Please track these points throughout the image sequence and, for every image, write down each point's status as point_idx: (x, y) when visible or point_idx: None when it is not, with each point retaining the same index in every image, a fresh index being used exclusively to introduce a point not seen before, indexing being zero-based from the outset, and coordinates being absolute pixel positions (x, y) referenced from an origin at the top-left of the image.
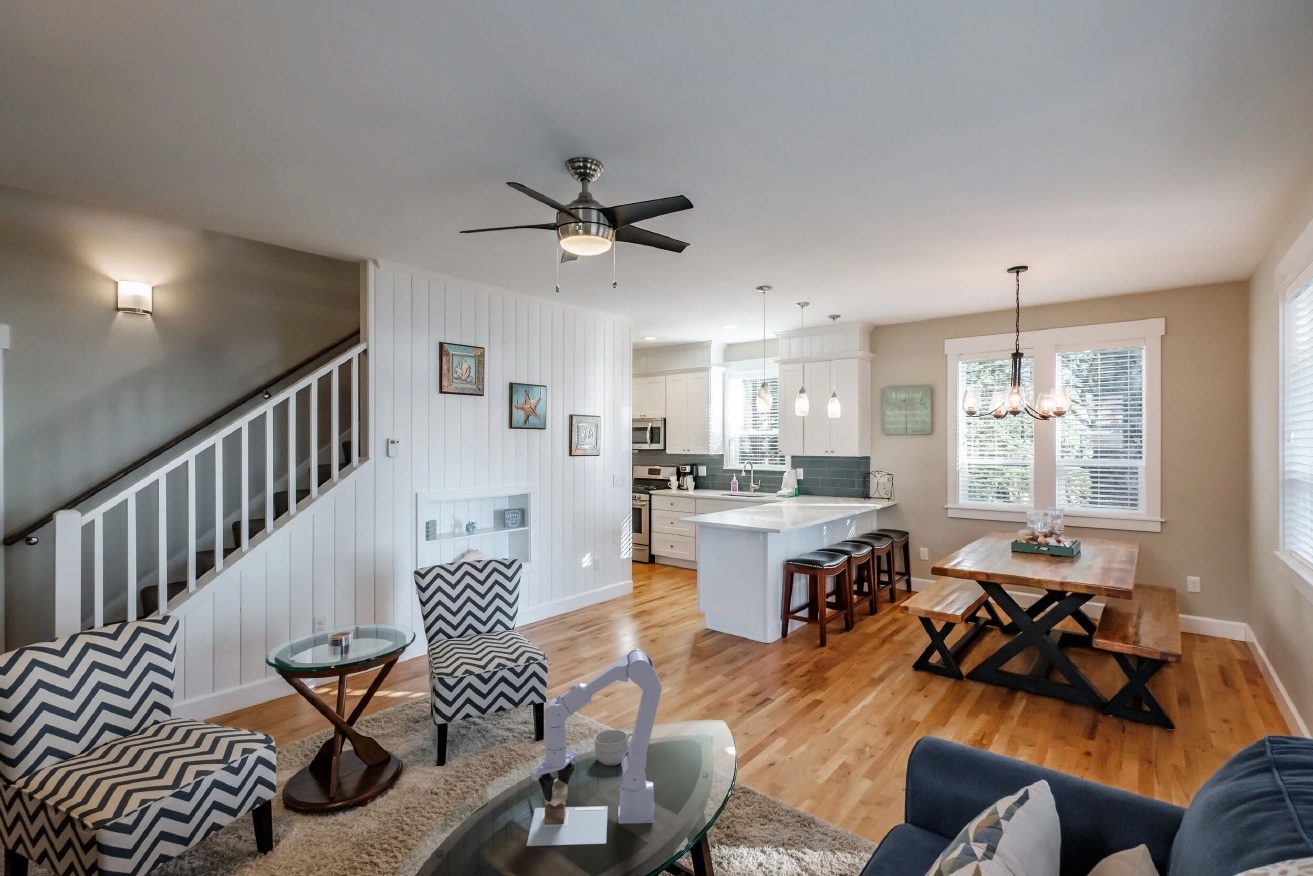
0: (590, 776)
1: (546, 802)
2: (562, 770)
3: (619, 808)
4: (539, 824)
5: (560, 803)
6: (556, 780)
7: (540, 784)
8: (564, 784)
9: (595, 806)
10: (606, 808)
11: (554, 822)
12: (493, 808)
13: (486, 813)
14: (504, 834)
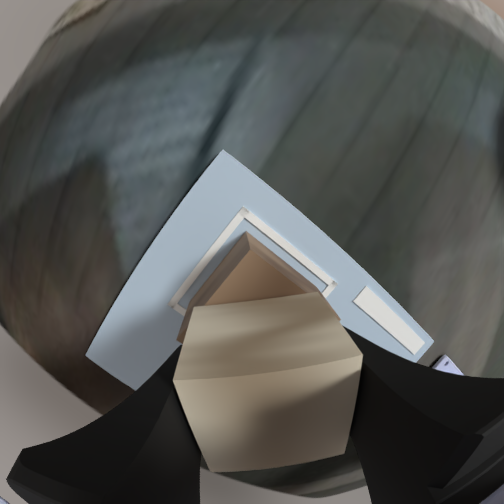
0: (496, 138)
1: (220, 290)
2: (399, 489)
3: (438, 368)
4: (169, 287)
5: None
6: (334, 381)
7: (108, 415)
8: (332, 447)
9: (416, 322)
10: (423, 351)
11: None
12: (98, 38)
13: (65, 59)
14: (48, 229)
